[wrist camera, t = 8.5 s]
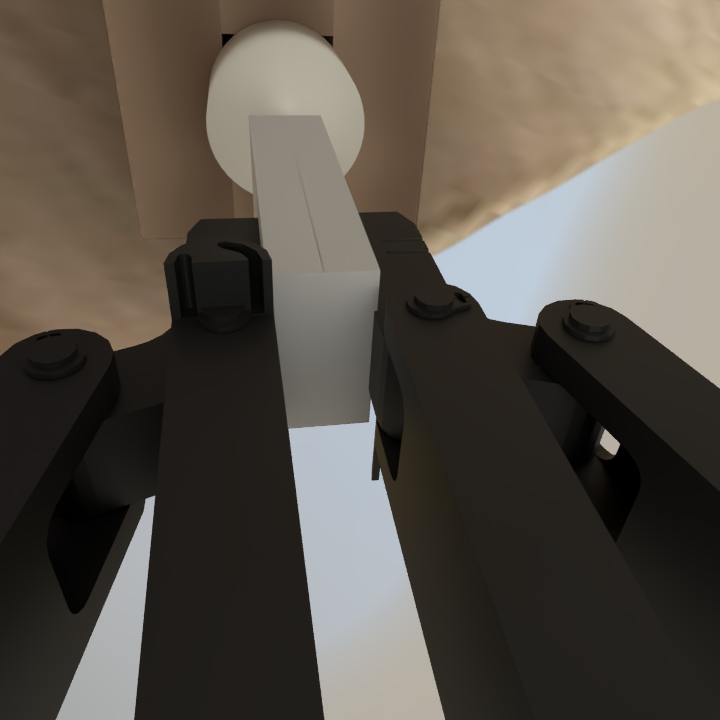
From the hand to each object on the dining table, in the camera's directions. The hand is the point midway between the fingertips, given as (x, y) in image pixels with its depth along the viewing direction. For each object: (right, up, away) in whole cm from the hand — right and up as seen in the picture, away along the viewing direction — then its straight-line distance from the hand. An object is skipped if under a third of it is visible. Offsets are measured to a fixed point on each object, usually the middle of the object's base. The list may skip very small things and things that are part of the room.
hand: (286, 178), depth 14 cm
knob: (-2, +8, +11) cm, 13 cm away
